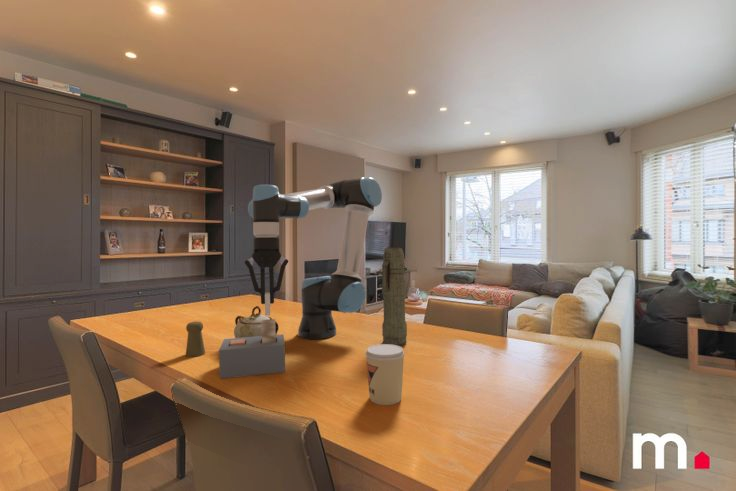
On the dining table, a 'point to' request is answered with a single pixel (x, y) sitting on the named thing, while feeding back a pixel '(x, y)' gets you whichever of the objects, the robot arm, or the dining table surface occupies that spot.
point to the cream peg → (268, 331)
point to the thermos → (394, 297)
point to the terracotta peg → (237, 342)
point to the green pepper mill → (194, 339)
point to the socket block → (251, 357)
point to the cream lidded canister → (385, 373)
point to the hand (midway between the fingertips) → (267, 314)
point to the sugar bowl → (251, 325)
